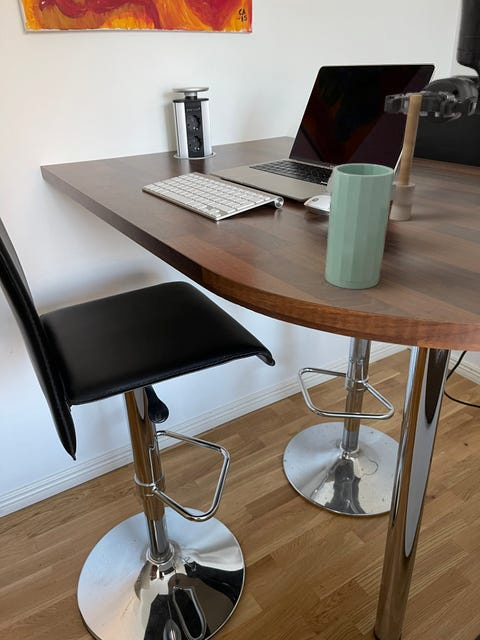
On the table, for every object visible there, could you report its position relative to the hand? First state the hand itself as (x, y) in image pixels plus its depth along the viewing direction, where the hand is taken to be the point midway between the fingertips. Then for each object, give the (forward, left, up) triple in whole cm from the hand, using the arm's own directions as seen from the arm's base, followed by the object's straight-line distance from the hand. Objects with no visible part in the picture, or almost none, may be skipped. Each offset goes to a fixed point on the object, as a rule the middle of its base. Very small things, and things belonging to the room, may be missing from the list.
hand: (415, 108), depth 80 cm
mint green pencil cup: (+12, +27, -18) cm, 35 cm away
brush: (0, 0, -18) cm, 18 cm away
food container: (+11, +14, -18) cm, 26 cm away
